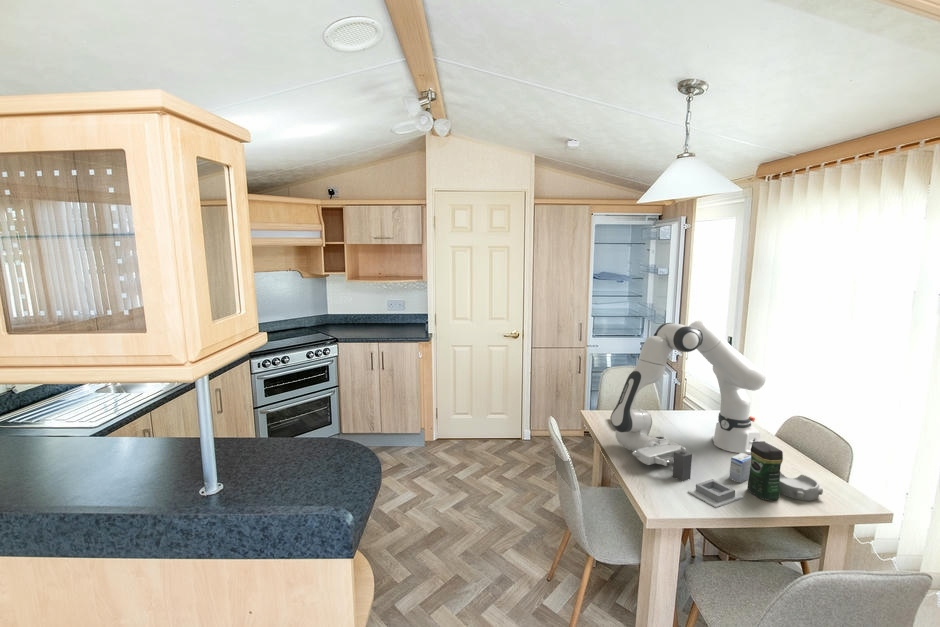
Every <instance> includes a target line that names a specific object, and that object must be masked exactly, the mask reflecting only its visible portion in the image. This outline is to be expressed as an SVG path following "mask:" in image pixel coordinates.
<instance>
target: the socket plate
mask: <svg viewBox="0 0 940 627" xmlns="http://www.w3.org/2000/svg"><path fill="white" fill-rule="evenodd" d="M687 493H688V494H689V495H691V496H694V497H696V498H697V499H699V500H701V501H702V500H703V502H704V501H705V502H704V503H706V504H708V505H710V506H712V507H713V506H714V508H715V509H717V508H719V506H720V507H722V506H725V505H727V504H730V502H731V503H732V502H736V501H739V500H741V498H742V499H743V496H742V495H740V494H738V493H737V492H736V489H733V488H731V487H729V486H727V485H726V484H724V483H721V482H719V481H718V480H715V479H712V478H711V479H708V480H705V481H703V482H700V483H699V482H698V483H696V485H695V488H693V489H690V490H687Z"/></svg>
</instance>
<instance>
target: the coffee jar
mask: <svg viewBox="0 0 940 627" xmlns="http://www.w3.org/2000/svg"><path fill="white" fill-rule="evenodd" d="M783 453H784V452H783V451H782V450H781V449H779V448H778V447H776V446H773V444H770V443H768V442H766V441H763V440H760V441H757V442H754V443H753V444H752V446H751V454H750V456H751V467H750V474H749V479H747V490H748V491H749V492H750V493H751V494H753V495H754V496H756V497H757V498H758V499H760V500H766V501H770V500H772V501H776V500H779V498H780V494H781V493H780V472H781V466H782V463H783V460H784V454H783Z"/></svg>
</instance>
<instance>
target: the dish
mask: <svg viewBox="0 0 940 627" xmlns="http://www.w3.org/2000/svg"><path fill="white" fill-rule="evenodd" d="M823 493H824V490H823V487H820V483H819V482H818V481H817V480H816V479H814V478H812V477H811V476H808V475H805V474H800V475H798V476H797V477H793V478H792V477H787V476H785V475H784V474H783V473H782V472H781V471H780V494H781V495H783V496H786V497H789V498H792V499H795V500H800V501H815V500H817V499H819V497H820V496H822V495H823Z"/></svg>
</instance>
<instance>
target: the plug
mask: <svg viewBox="0 0 940 627" xmlns="http://www.w3.org/2000/svg"><path fill="white" fill-rule="evenodd" d="M692 457H693V454H692V453H690V452H688V451H687V448H686V447H685V446H682V447H681V450H679V451H675V452H674V458H673V459H672V460H673V461H672V462H673V464H672V477H673V478H674V477H675V478H674V479H676V478H677V480H678V479H679V480H678V481H680V480H681V481H680V482H682V481H683V482H686V481H688V479H689V480H691V475H692V461H693V458H692Z"/></svg>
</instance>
